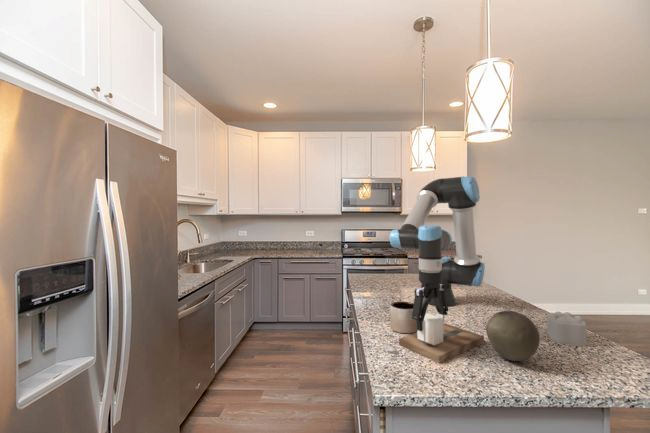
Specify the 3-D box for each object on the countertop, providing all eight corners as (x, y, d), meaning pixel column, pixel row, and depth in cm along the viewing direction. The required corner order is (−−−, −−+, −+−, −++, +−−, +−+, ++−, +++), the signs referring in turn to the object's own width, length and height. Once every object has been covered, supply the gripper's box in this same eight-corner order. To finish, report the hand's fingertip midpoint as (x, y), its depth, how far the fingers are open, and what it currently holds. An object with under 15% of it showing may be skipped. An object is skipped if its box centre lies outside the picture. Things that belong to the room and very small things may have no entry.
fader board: (443, 328, 119) (443, 322, 119) (484, 342, 106) (483, 335, 106) (399, 344, 105) (399, 338, 105) (439, 363, 92) (439, 355, 92)
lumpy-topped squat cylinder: (552, 342, 106) (552, 317, 106) (543, 329, 117) (543, 307, 117) (590, 347, 101) (590, 322, 101) (577, 333, 113) (577, 310, 113)
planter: (407, 322, 127) (406, 300, 127) (424, 331, 116) (424, 307, 116) (385, 326, 123) (384, 303, 123) (401, 336, 113) (400, 310, 113)
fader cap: (428, 335, 106) (428, 313, 106) (443, 341, 101) (443, 318, 101) (419, 339, 103) (418, 316, 103) (434, 345, 98) (433, 321, 98)
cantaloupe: (483, 347, 102) (483, 303, 102) (532, 354, 97) (532, 308, 97) (490, 367, 89) (489, 317, 89) (547, 376, 84) (546, 322, 84)
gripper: (418, 276, 93) (419, 348, 93) (459, 268, 105) (459, 332, 105) (399, 272, 99) (400, 340, 99) (440, 265, 111) (441, 325, 111)
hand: (431, 336), depth 102 cm, fingers open, 9 cm apart
